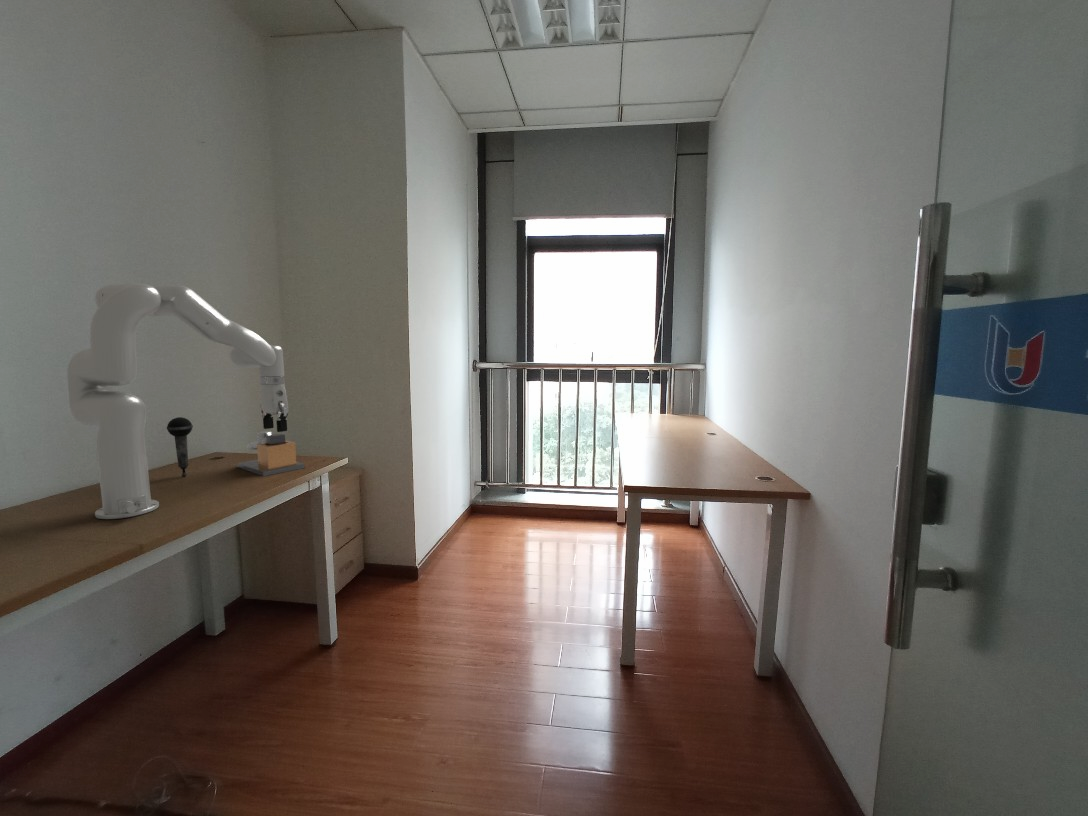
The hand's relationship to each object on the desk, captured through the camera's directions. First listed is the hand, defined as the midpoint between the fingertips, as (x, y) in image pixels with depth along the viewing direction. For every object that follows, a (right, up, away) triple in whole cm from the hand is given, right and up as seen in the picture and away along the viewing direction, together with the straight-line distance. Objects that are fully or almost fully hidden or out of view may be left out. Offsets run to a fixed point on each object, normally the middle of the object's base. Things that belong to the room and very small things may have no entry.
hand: (275, 429), depth 164 cm
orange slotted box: (-4, -14, +5) cm, 15 cm away
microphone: (-26, -15, -8) cm, 31 cm away
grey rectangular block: (0, -13, +1) cm, 13 cm away
